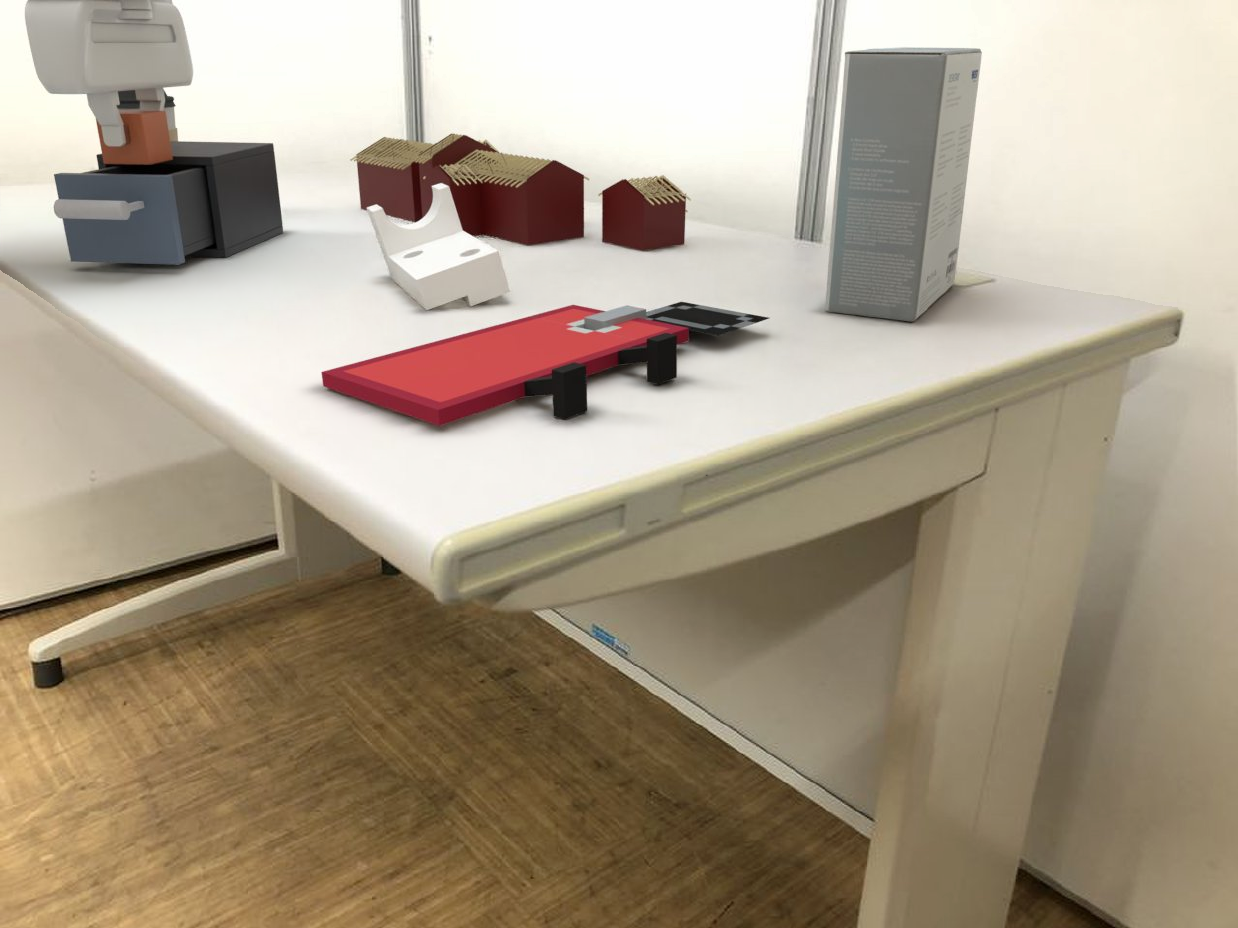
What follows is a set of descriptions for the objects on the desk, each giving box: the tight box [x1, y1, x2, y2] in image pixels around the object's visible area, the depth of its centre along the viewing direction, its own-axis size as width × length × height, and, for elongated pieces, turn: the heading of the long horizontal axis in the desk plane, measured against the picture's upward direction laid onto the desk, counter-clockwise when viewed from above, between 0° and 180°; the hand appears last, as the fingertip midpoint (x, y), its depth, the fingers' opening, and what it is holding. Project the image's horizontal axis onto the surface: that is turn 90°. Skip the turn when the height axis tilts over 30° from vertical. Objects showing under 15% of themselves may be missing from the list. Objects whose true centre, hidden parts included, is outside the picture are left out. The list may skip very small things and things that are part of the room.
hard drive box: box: [824, 46, 983, 322], centre depth 84 cm, size 16×8×20 cm, turn 152°
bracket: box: [366, 183, 511, 311], centre depth 87 cm, size 13×7×8 cm, turn 24°
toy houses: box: [349, 133, 692, 252], centre depth 118 cm, size 45×20×10 cm, turn 42°
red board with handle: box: [321, 301, 770, 427], centre depth 69 cm, size 30×3×15 cm
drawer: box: [53, 164, 216, 266], centre depth 97 cm, size 18×10×8 cm, turn 175°
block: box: [95, 110, 173, 165], centre depth 94 cm, size 4×4×4 cm
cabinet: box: [96, 140, 284, 259], centre depth 106 cm, size 15×12×10 cm
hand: (135, 143), depth 95 cm, fingers closed on block, 4 cm apart
